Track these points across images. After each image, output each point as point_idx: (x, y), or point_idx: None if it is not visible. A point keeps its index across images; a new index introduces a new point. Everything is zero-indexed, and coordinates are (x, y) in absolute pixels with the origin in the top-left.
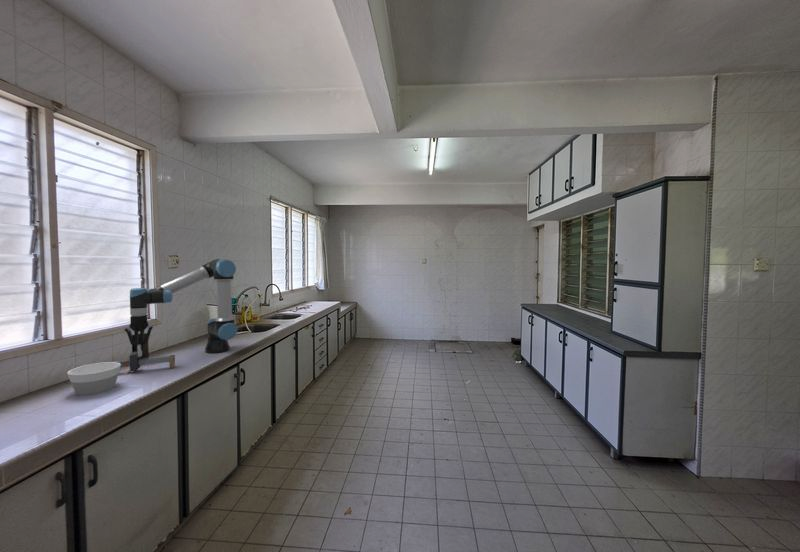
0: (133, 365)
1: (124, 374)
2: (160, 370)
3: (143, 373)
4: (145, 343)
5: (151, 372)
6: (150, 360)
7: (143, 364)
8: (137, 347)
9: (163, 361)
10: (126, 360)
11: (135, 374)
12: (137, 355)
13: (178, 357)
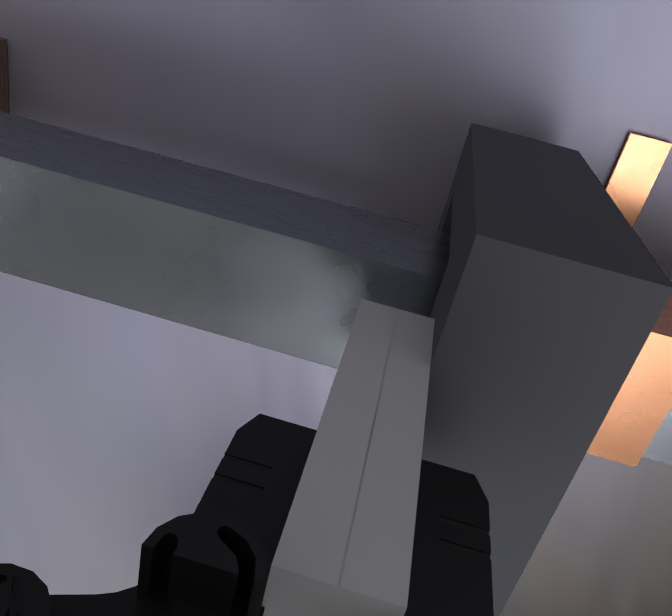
0: (532, 162)
1: (650, 177)
2: (132, 53)
3: (376, 45)
4: (34, 577)
5: (258, 19)
6: (203, 196)
7: (348, 207)
8: (412, 524)
9: (1, 119)
10: (658, 385)
11: (496, 72)
12: (437, 329)
13: (3, 544)
